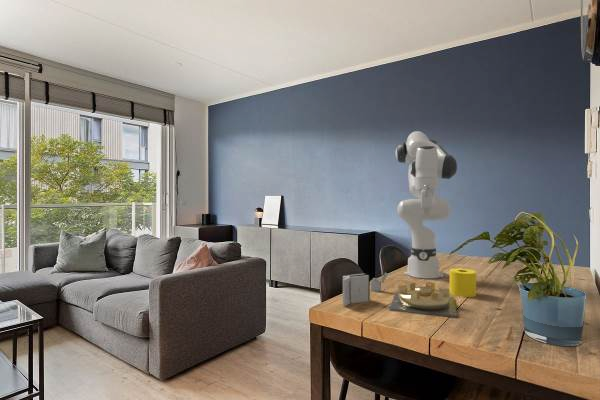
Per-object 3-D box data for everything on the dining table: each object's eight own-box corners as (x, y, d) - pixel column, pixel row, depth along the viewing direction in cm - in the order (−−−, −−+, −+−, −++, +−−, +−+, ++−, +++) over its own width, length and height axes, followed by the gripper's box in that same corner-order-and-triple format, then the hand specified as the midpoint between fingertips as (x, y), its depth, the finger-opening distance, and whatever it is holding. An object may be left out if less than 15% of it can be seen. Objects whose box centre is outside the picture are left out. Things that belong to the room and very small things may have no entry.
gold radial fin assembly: (443, 296, 137) (443, 281, 137) (454, 310, 120) (454, 294, 120) (396, 293, 141) (396, 279, 141) (400, 308, 123) (400, 292, 123)
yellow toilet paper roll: (479, 297, 138) (479, 274, 138) (452, 296, 140) (452, 273, 140) (472, 290, 148) (472, 268, 148) (447, 289, 150) (447, 268, 150)
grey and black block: (344, 307, 128) (344, 279, 127) (335, 303, 132) (334, 277, 132) (371, 300, 135) (371, 274, 135) (361, 297, 140) (361, 272, 140)
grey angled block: (370, 290, 149) (370, 272, 149) (371, 289, 151) (371, 271, 151) (387, 292, 147) (387, 273, 146) (388, 291, 148) (388, 272, 148)
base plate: (395, 293, 144) (395, 291, 144) (453, 299, 136) (453, 296, 136) (389, 310, 124) (389, 307, 124) (457, 317, 116) (457, 315, 116)
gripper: (435, 184, 130) (435, 221, 131) (434, 185, 150) (434, 217, 150) (417, 184, 133) (417, 220, 133) (419, 186, 152) (419, 217, 152)
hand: (426, 219), depth 141 cm, fingers closed
